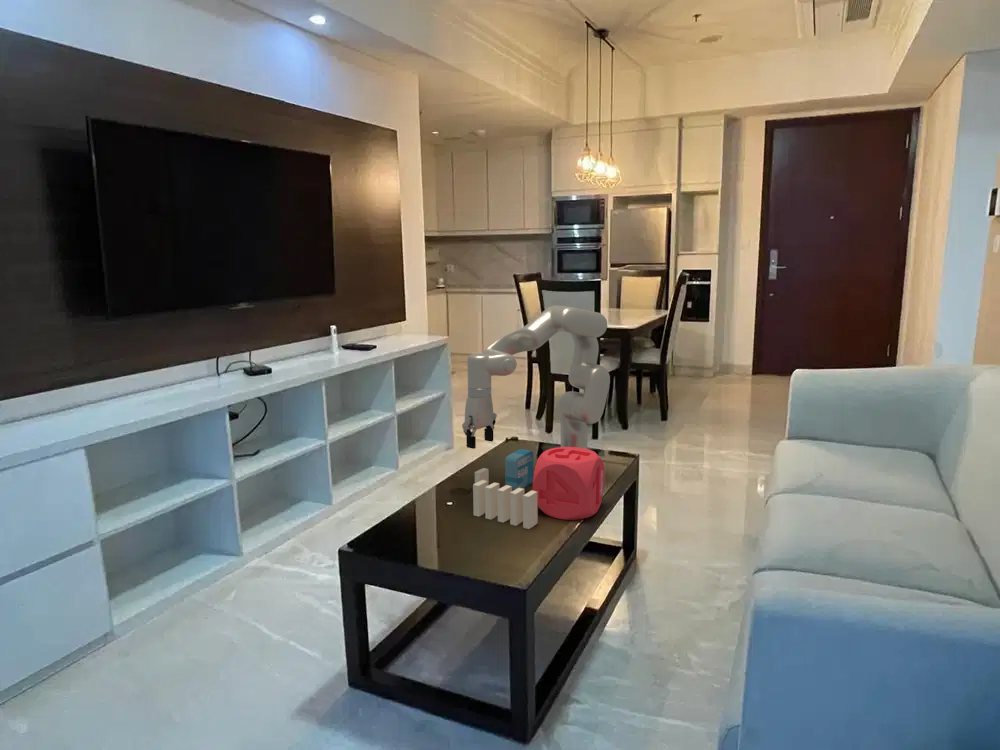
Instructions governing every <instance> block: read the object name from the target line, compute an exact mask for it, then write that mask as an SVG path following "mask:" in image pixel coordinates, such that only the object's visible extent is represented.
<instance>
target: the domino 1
mask: <svg viewBox="0 0 1000 750" xmlns="http://www.w3.org/2000/svg"><path fill="white" fill-rule="evenodd" d="M489 473H490V472H489V468H485V467H482V468H480V469H478V470H476V471H474V484H475V483H477V482H479V481H481V480H485V481H488V485H490V484H489V483H490V481H489Z"/></svg>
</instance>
